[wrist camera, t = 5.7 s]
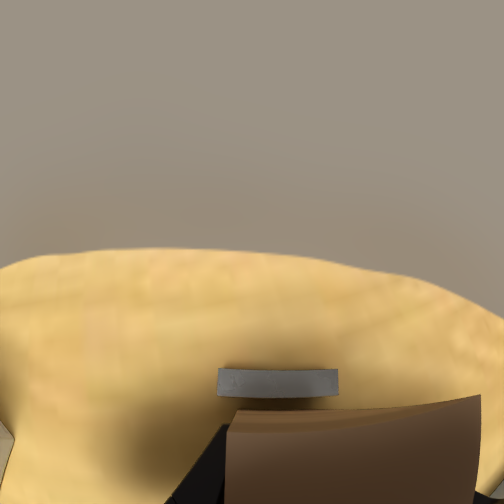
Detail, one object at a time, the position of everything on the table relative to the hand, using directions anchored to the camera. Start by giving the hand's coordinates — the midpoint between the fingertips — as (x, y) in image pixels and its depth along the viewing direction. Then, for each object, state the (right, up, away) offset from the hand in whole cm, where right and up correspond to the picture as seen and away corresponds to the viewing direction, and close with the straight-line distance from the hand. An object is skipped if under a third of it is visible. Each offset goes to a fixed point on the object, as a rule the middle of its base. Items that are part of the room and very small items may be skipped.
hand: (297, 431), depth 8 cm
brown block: (0, -5, +5) cm, 7 cm away
